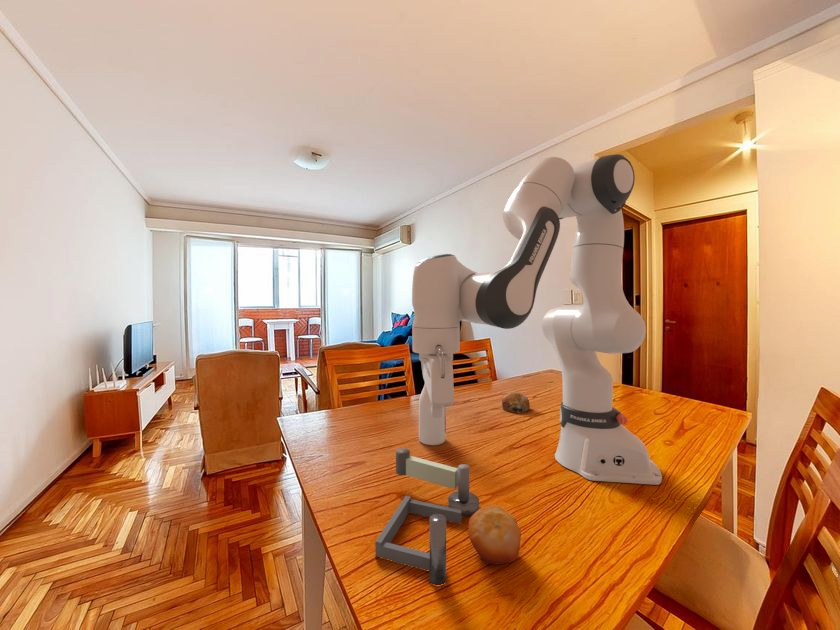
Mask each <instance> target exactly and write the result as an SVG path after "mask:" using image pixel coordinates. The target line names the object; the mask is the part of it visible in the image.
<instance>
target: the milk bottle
mask: <svg viewBox="0 0 840 630" xmlns="http://www.w3.org/2000/svg"><path fill="white" fill-rule="evenodd" d="M446 407H447V406H442V417H441V418H434V417H433V416H432V413H431V402H430V398H429V394H428V391H427V388H426V385H425V383H424V385H423V388H422V390H421V393H420V395H419V398H418V441H419V442H420V443H422V444H424V445H427V446H439V445H442V444H444V443H445V441H446V438H447V437H446V433H447V427H446V426H447V425H446V421H447V420H446V417H447V416H446V415H447V413H446V412H447V411H446V409H447V408H446Z"/></svg>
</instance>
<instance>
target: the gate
mask: <svg viewBox="0 0 840 630" xmlns="http://www.w3.org/2000/svg"><path fill="white" fill-rule="evenodd" d="M410 452H411V450H410V449H409V448H405V447H402V448H401V447H400V448H397V449H396V450H395V474H396V475H398V476H407V477H412V478H414V479H418V480H422V481H425V482H428V483H432V484H433V485H434V484H435V485H438V486H442V487H445V488H448V489H452V490H456V489H457V491H458V499H459V500H460V501H463V502H466V501H468V500H469V492H470V465H468V464H465V463H463V464H459V465H458V466H457V467H453V466H450V465H447V464H443V463H440V462H435V461H431V460H427V459H424V458H420V457H417V456H412V455H411V453H410Z"/></svg>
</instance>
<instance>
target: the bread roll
mask: <svg viewBox="0 0 840 630" xmlns="http://www.w3.org/2000/svg"><path fill="white" fill-rule="evenodd" d="M501 407H502V410H504V411H505V410H506V411H505V412H508V411H510V413H514V412H521V413H525V412H528V411H529V410H530V400H529V399H528V397H527V395H525V394H523V393H521V392H518V391H509V392H508V393H507V394H506V395H504V396H503V397H502V399H501Z"/></svg>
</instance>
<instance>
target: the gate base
mask: <svg viewBox="0 0 840 630" xmlns="http://www.w3.org/2000/svg"><path fill="white" fill-rule="evenodd" d="M447 500H448V501H447V507H450V508H455V509H460V510H462V518H471V516H472V515H473V514H474V513H475V512H476V511H477V510H478V509H480V499H479V497H478V496H477V495H476V494H475V493H472V492H470V491H469V500H468V501H466V502H463V501H460V500H459V499H458V490H457V491H454V492H452V493H450V494H449V495H448V497H447Z"/></svg>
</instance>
